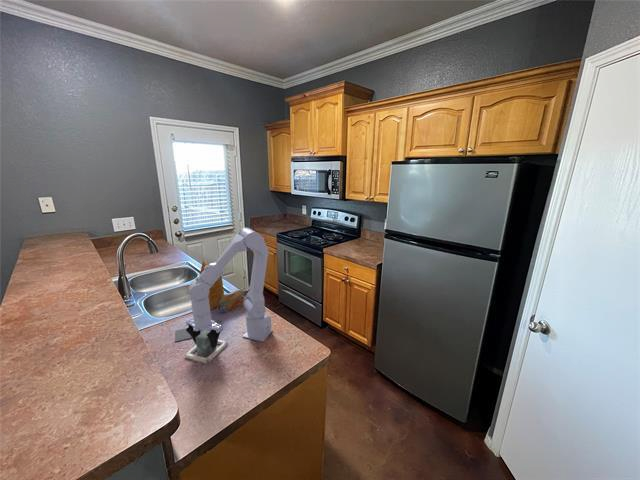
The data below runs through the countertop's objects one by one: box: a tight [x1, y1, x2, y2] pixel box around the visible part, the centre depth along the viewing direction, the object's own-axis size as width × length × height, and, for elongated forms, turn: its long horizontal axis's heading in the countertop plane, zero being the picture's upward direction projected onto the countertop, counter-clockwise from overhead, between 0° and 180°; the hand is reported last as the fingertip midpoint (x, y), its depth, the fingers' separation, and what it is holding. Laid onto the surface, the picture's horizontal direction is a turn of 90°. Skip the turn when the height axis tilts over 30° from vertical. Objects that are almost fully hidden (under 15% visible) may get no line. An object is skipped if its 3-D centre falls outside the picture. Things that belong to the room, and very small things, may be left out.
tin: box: [216, 289, 247, 314], centre depth 126 cm, size 15×3×8 cm, turn 134°
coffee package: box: [199, 260, 225, 310], centre depth 130 cm, size 10×12×22 cm
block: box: [195, 330, 217, 357], centre depth 97 cm, size 4×5×7 cm
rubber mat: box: [174, 319, 224, 343], centre depth 110 cm, size 18×8×1 cm, turn 116°
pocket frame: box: [184, 338, 228, 364], centre depth 98 cm, size 10×11×1 cm
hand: (206, 344), depth 97 cm, fingers open, 7 cm apart
